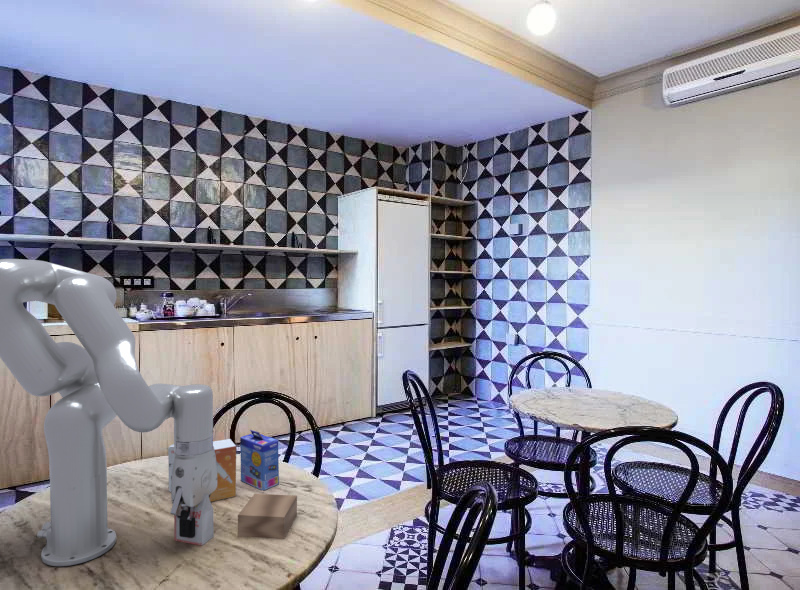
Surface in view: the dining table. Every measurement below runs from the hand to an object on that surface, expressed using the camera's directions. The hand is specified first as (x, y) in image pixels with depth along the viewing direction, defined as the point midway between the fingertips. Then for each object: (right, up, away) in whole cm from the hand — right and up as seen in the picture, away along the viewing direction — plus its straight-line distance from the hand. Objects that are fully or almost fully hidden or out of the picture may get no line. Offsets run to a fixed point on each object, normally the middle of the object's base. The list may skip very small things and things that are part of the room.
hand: (194, 529), depth 103 cm
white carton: (0, -2, 0) cm, 2 cm away
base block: (+14, -2, +6) cm, 15 cm away
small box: (-3, -1, +20) cm, 20 cm away
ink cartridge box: (+6, -1, +27) cm, 28 cm away
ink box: (-11, -1, +23) cm, 26 cm away
